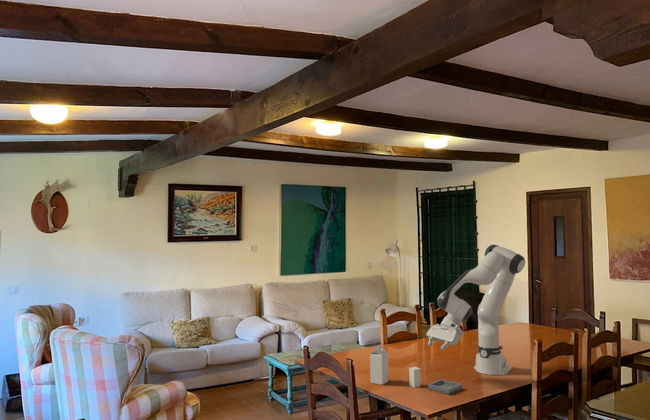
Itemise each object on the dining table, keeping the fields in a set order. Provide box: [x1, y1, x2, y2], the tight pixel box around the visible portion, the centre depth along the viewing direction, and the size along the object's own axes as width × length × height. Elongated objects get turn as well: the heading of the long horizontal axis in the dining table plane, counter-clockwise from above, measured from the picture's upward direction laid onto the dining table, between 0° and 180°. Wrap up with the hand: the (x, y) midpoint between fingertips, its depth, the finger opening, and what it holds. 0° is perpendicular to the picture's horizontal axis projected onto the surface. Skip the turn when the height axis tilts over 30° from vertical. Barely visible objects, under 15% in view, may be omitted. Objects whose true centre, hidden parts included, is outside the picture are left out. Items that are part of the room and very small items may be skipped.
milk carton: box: [369, 344, 389, 386], centre depth 259 cm, size 7×7×19 cm
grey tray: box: [427, 378, 463, 396], centre depth 246 cm, size 12×12×2 cm
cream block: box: [408, 366, 421, 388], centre depth 252 cm, size 4×4×9 cm
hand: (435, 347), depth 256 cm, fingers open, 8 cm apart
